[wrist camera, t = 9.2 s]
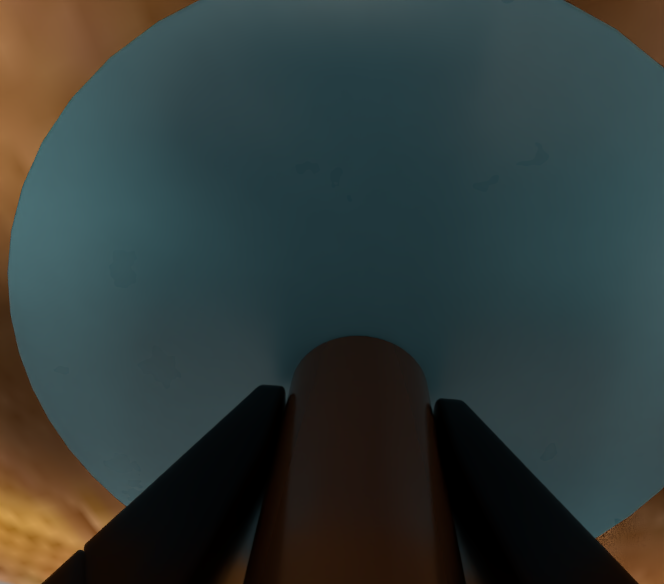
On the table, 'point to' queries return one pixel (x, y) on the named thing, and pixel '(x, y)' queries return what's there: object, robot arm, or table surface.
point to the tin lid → (356, 263)
